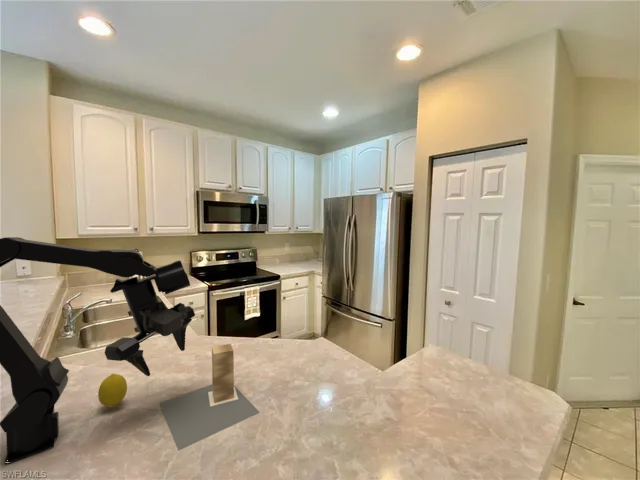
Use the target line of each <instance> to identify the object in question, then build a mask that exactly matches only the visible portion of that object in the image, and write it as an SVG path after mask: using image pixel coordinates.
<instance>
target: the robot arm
mask: <svg viewBox="0 0 640 480" xmlns="http://www.w3.org/2000/svg"><path fill="white" fill-rule="evenodd" d="M14 260H20V261H21V260H22V261H30V262H31V261H32V262H38V263H39V262H40V263H47V264H48V263H49V264H55V265H56V264H57V265H66V266H75V267H82V268H83V267H84V268H89V269H94V270H96V271H100V272H102V273H106V274H110V275H113V276H116V277H117V276H118V277H121V278H128V279H124V280H123V279H120V278H116V279H115V281H114V284H113V287H111V288H110V293H114V294H115V293H117V292H119V291H122V293H123V295H124V299H125V300H126V303H127V306H128V308H129V311H127V314H128V316H129V317H132V319H133V321H134V323H135V326H136V327H134V332H135V333H137V334H136V335H135V336H133V337H132V336H131V337H120V339H117V340H116V341H114V342H112V343H109V344H108V345H107V346H105V350H104V355H105V358H106V360H107V361H118V362H121V361H126V362H127V363H130V364H131V365H132V366H133V367H135V368H136V369H137V370H138V371H140V372H141V373H142V374H144V375H145V376H146V377H150V376H151V371H150V369H149V367H148V366H149V365H148V364H147V363H146V360H145V358H144V350H143V349H140V347H141V345H140V344H141V343H143V342H144V341H146V340H148V339H149V338H151V337H153V336H154V335H156V334H157V333H158V334H160V336H162V337H168V336H170V335H172V336H173V339H174V341H175V342H176V345H177V348H179V351H181V352H184V351H185V350H186V332H187V327H188V325H189V324H190V323H191V322H192V320H193V319H192V318H194V317H195V316H196V314H195V310H194V308H193V307H192V306H190V305H187V306H186V305H185V304H184V303H181V302H179V303H177V304H175V305H174V306H172V307H170V308H168V307H166V305H165V303H164V301H163V300H161V301H160V300H159V298H158V295H157V293H156V289H155V287H154V285H153V284H154V283H153V282H152V281H153V280H154V282H155V285H156V288H157V291H158V292H159V293H164V294H165V295H168V294H169V295H170V294H171V293H175V292H177V291H180V290H183V289H185V288H188V287H190V286H191V282H190V279H189V276H188V273H187V272H186V271H185V268H184V266H183V263H182V261H181V260H176V261H173V262H171V263H169V264H166V265H162V266H159V267H156V266H155V265H154V264H151V263H150V262H147V261H146V260H145V259H144V256H143V255H142V254H141V253H140V252H139V251H137V250H134V249H126V248H125V249H93V248H87V247H79V246H71V245H67V244H66V245H65V244H58V243H52V242H45V241H39V240H37V241H36V240H31V239H24V238H22V237H17V236H16V237H10V236H9V237H1V238H0V268H2V267H3V266H5V265H7V264H9V263H10V262H12V261H14ZM138 276H140V277H143V278H140V279H139V277H138ZM0 366H1V367H2V368H3V370H5V372H6V373H7V375H8V376H9V380H10V386H11V393H12V396H13V398H14V400H15V404H13V406H12V407H11V408H10V410H9V411H8V412H7V414H6V415H5V416H4V417H3V418H2V420H1V421H0V427H1V429H2V430H3V432H4V433H6V434H5V439H6V455H5V458H4V461H3V462H11V463H13V462H16V461H19V460H21V459H24V458H27V457H30V456H33V455H35V454H38V453H41V452H43V451H46V450H49V449H52V448H54V447H55V442H56V439H57V438H59V432H60V422H59V421H60V419H59V417H60V416H59V411H55V405H56V403H57V402H58V401H59V399H60V397H61V396H62V394H63V392H64V391H65V389H66V386H67V385H68V382H69V376H68V373H69V372H70V370H69V369H67V368H66V367H64V366H63V364H62V362H61V360H60V358H59V357H58V356H57V357H54V358H53V359H52V360H48V359H45V358H43V357H41V355H39V353H38V352H37V351H36V349H35V348H34V347H33V345H31V343H30V342H29V341H28V339H27V338H26V337H25V336H24V334H23V332H22V331H21V330H20V329H19V328H18V326H17V325H16V323H15V322H14V320H12V318H11V317H10V315H9V314H8V313H7V312H6V310H5V309H4V307H3V306H2V305H1V304H0ZM7 460H8V461H7Z"/></svg>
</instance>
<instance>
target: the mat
mask: <svg viewBox="0 0 640 480" xmlns="http://www.w3.org/2000/svg"><path fill="white" fill-rule="evenodd" d="M158 404H159V407H160V409H161V411H162V414H163V416H164V418H165V422H166V423H167V427H168V428H169V431H170V434H171V437H172V438H173V441H174V443H175V446H176V448H177V450H178V451H181V450H183V449H185V448H187V447H189V446H192V445H194V444H196V443H198V442H200V441H202V440H204V439H207V438H208V437H210V436H213V435H215V434H218V433H220V432H221V431H224V430H226V429H228V428H230V427H232V426H235V425H236V424H238V423H240V422H243V421H245V420H247V419H249V418H251V417H253V416H255V415H258V414H260V411H259V409H257V408H256V407H255V406H254V405H253V404H252V402H251V401H250V400H249V399H248V398H247V397H246V396H245V395H244V394H243V393H242V392H241V390H239V389H238V388H237V387H236V386H235V385H234V398H232V399H228V400H225V401H221V402H217V403H214V398H213V384H209V385H206V386H204V387H200V388H196V389H195V390H191V391H189V392H186V393H184V394H181V395H178V396H175V397H173V398H170V399H167V400H163V401H160V402H159V403H158Z"/></svg>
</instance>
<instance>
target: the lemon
mask: <svg viewBox="0 0 640 480" xmlns="http://www.w3.org/2000/svg"><path fill="white" fill-rule="evenodd" d="M127 391H128V384H127V380H126V378H125V377H124V376H123V375H122V374H121V375H120V374H117V373H111V374H110V375H108V376H107V377H106V378H104V379H103V381H102V382H101V383H100V385H99V387H98V393H97V395H98V400H99V403H100V404H101V405H102V406H104V407H108V408H109V407H111V408H115V407H116V406H117V405H118V404H120V403H121V402H122V401H123V400H124V398H125V397H126V394H127Z"/></svg>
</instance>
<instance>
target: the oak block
mask: <svg viewBox="0 0 640 480" xmlns="http://www.w3.org/2000/svg"><path fill="white" fill-rule="evenodd" d="M234 357H235V355H234V349H233V346H232V343H227V344H222V345H217V346H211V371H212V375H211V376H212V379H211V381H212V384H213V398H214V403H217V402H221V401H225V400H228V399H232V398H234V386H235V378H234V377H235V376H234V375H235V371H234V370H235V367H234V363H235V362H234ZM212 384H211V385H212Z"/></svg>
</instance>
